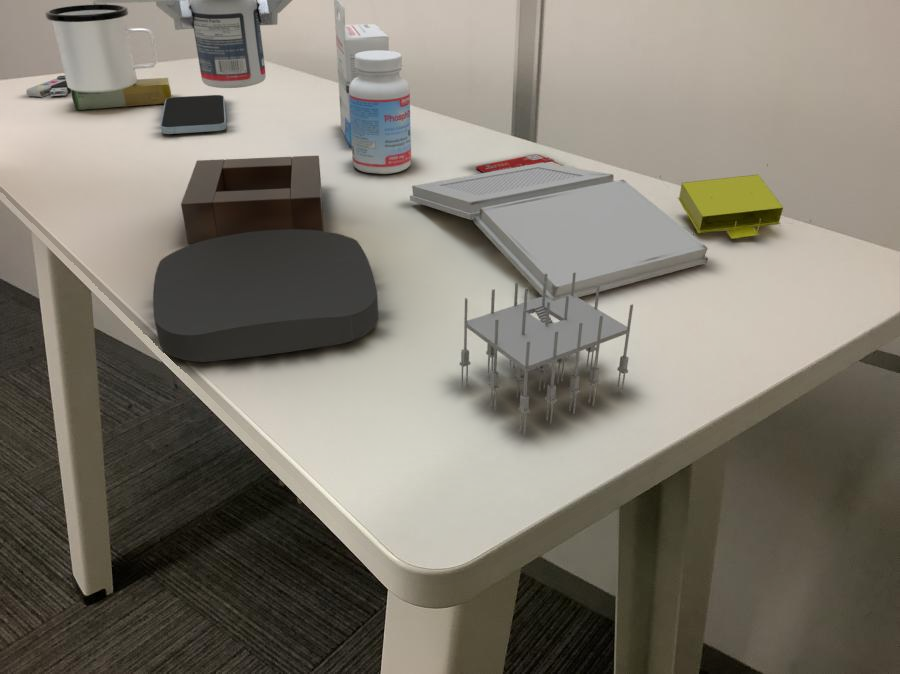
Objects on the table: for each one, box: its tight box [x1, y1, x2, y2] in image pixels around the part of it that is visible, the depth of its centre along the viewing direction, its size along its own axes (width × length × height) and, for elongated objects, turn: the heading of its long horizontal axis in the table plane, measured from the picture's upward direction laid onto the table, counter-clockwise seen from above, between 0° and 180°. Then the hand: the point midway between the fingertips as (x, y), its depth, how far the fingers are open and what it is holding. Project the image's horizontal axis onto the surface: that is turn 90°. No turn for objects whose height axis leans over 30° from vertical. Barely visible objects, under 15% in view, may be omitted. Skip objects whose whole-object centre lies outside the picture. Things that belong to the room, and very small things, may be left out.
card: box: [475, 154, 564, 173], centre depth 83 cm, size 8×1×5 cm
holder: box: [180, 155, 325, 244], centre depth 71 cm, size 11×11×4 cm
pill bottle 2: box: [349, 50, 412, 175], centre depth 81 cm, size 6×6×11 cm
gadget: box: [409, 163, 709, 301], centre depth 68 cm, size 23×15×4 cm, turn 29°
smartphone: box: [159, 94, 227, 135], centre depth 99 cm, size 7×1×15 cm
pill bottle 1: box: [190, 0, 267, 89], centre depth 65 cm, size 5×5×9 cm
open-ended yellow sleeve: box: [659, 163, 812, 240], centre depth 70 cm, size 10×9×3 cm
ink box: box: [333, 0, 390, 148], centre depth 89 cm, size 8×5×15 cm, turn 14°
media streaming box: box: [152, 229, 379, 363], centre depth 56 cm, size 15×15×3 cm
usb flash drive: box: [25, 75, 71, 98], centre depth 111 cm, size 9×5×1 cm, turn 16°
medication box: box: [70, 77, 174, 111], centre depth 104 cm, size 12×3×4 cm
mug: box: [44, 3, 158, 93], centre depth 100 cm, size 12×10×9 cm
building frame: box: [459, 272, 634, 436], centre depth 47 cm, size 6×8×6 cm
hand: (225, 20), depth 66 cm, fingers closed on pill bottle 1, 5 cm apart
